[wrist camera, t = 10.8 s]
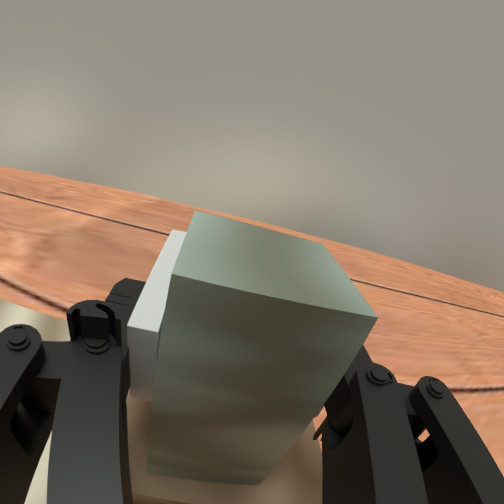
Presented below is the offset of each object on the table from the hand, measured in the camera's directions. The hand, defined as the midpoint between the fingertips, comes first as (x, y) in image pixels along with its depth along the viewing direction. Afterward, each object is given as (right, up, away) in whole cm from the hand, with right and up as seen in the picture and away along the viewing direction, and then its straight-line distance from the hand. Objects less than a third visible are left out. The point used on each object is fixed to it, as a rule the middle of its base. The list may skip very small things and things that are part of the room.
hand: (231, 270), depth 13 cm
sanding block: (-2, -9, -2) cm, 9 cm away
